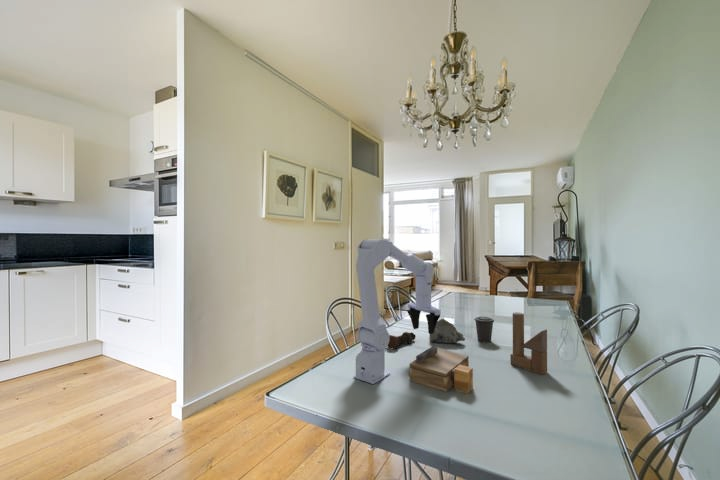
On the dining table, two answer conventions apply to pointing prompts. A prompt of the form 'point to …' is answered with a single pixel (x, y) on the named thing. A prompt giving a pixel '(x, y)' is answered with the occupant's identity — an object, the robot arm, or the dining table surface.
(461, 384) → the brown block
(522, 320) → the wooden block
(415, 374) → the brown wooden open box
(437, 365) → the lid
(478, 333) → the coffee cup
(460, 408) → the dining table surface
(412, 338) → the bolt
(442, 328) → the mineral rock
